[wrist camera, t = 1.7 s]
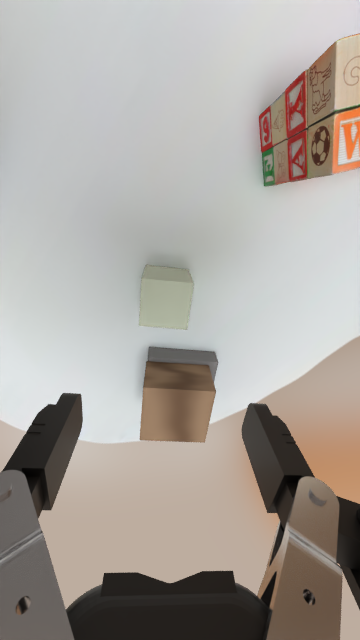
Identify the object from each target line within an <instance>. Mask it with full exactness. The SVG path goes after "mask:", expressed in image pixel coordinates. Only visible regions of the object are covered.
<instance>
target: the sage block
mask: <svg viewBox="0 0 360 640" xmlns="http://www.w3.org/2000/svg"><path fill="white" fill-rule="evenodd" d="M193 286H194V283H193V280H192V277H191V275H190V272H189V269H180V268H170V267H161V266H152V265H146V267H145V270H144V273H143V275H142V279H141V297H140V314H139V326H148V327H160V328H172V329H183V330H187V327H188V320H189V313H190V306H191V299H192V293H193Z"/></svg>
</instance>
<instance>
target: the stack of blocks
mask: <svg viewBox="0 0 360 640" xmlns="http://www.w3.org/2000/svg"><path fill="white" fill-rule="evenodd" d="M259 125H260V139H261V152H262V161H263V176H264V186H272V185H278V184H282V183H286V182H295V181H300V180H305V179H310V178H314V177H322V176H328V175H334V174H338V173H342V172H345V171H349V170H353V169H357V168H360V34H356V35H352V36H348V37H345V38H342V39H339V40H337V41H336V42H335V43H334V44H333V45H331V46H330V47H329V48H328V49H327V50H326V52H325V53H324V54H323V55H321V56H320V57H319V58H318V59H317V60H316V61H315V62H314V63H313V65H312V66H311V67H310V68H309V69H308V70H305V71H304V72H303V73H302V74H301V75H300V76H299V77H298V78H297V79H296V80H295V81H293V83H292V84H290V86H289V87H288V88H287V89H286V90H285V92H284V93H283V94H282V95H281V96H280V97H279V98H278V99H277V100H276V101H275V102H274V103H273V104H271V105H270V106H269V107H268V108H267V109H266V110H265V111H264V112H263V113H262V114H261V115H260V116H259Z"/></svg>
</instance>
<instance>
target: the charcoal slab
mask: <svg viewBox="0 0 360 640" xmlns="http://www.w3.org/2000/svg"><path fill="white" fill-rule="evenodd" d="M148 361H151V362H166V363H181V364H196V365H209V368H210V371H211V375H212V379H213V383H214V379H215V375H216V370H217V365H218V360H217V357H216V354H215V352H208V351H195V350H182V349H169V348H157V347H149V353H148Z"/></svg>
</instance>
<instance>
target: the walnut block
mask: <svg viewBox="0 0 360 640" xmlns="http://www.w3.org/2000/svg"><path fill="white" fill-rule="evenodd" d="M215 394H216V390H215V386H214V383H213V379H212V375H211V371H210V368H209V365H196V364H181V363H166V362H151V361H147V362H146V370H145V378H144V386H143V400H142V414H141V429H140V440H151V441H153V440H154V441H179V442H205V439H206V434H207V430H208V425H209V421H210V416H211V412H212V407H213V403H214V398H215Z"/></svg>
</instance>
